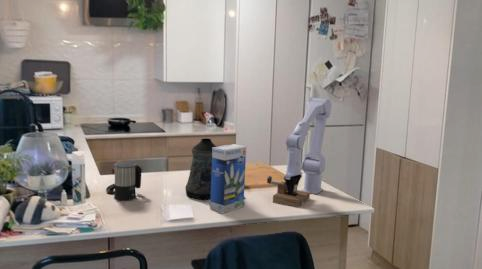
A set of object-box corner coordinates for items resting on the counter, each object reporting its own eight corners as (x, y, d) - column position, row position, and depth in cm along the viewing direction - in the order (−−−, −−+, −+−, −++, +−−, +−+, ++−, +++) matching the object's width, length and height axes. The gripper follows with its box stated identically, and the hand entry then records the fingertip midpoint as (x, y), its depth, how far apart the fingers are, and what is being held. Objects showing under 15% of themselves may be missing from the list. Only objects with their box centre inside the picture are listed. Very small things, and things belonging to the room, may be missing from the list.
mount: (284, 194, 222) (285, 179, 221) (309, 198, 217) (310, 183, 216) (272, 202, 210) (273, 186, 208) (298, 207, 205) (300, 190, 203)
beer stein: (191, 202, 205) (192, 144, 201) (179, 189, 223) (180, 135, 218) (227, 199, 211) (230, 142, 207) (213, 186, 229) (215, 134, 225)
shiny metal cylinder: (289, 194, 215) (290, 182, 214) (297, 195, 214) (298, 183, 213) (287, 196, 212) (288, 184, 211) (295, 198, 211) (296, 185, 210)
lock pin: (268, 182, 218) (268, 175, 218) (284, 185, 215) (285, 178, 214) (266, 183, 217) (266, 176, 216) (283, 186, 213) (283, 179, 213)
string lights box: (222, 213, 192) (225, 150, 188) (208, 209, 197) (211, 147, 192) (244, 206, 202) (247, 146, 197) (230, 202, 207) (233, 143, 202)
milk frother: (130, 202, 201) (130, 167, 199) (95, 198, 204) (95, 164, 202) (143, 192, 215) (144, 160, 212) (111, 189, 218) (111, 157, 215)
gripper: (297, 166, 202) (294, 197, 205) (308, 160, 215) (306, 189, 217) (281, 163, 205) (279, 194, 208) (293, 157, 218) (291, 186, 220)
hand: (292, 191), depth 213 cm, fingers closed on shiny metal cylinder, 3 cm apart
